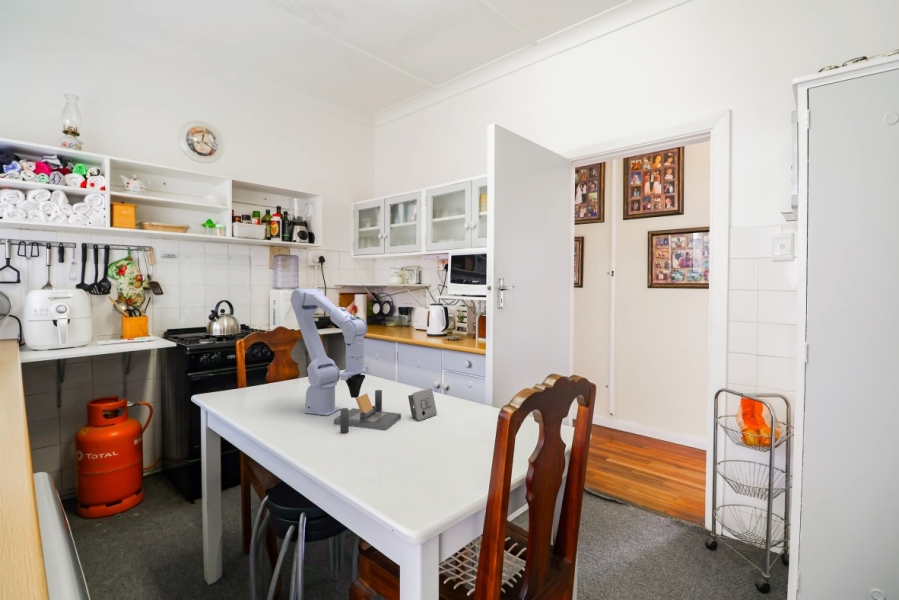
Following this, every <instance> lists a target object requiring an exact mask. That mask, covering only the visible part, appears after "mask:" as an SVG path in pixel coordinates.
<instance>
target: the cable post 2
mask: <svg viewBox="0 0 899 600" xmlns="http://www.w3.org/2000/svg"><path fill="white" fill-rule="evenodd" d="M374 406H376V411H382V410H383V390H382V389H375V391H374ZM382 412H383V411H382Z"/></svg>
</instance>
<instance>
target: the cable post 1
mask: <svg viewBox="0 0 899 600" xmlns="http://www.w3.org/2000/svg"><path fill="white" fill-rule="evenodd" d="M339 410H340V411H339V413H340V415H339V416H340V424H339V426H340V429H339V430H340V434H342V435H343V434H348V433H349V431H350V430H349V410H350V409H349V408H347V407H343V408H340V409H339Z"/></svg>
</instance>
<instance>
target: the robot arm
mask: <svg viewBox="0 0 899 600" xmlns="http://www.w3.org/2000/svg"><path fill="white" fill-rule="evenodd" d="M289 301H290V303H291V307H292V309H293V311H294V315H295V317H296V321H297V324H298V327H299V330H300V332H301V336H302V338H303V341H304V345H305V347H306V351H307V352H308V353H307V354H308V356H309V358H310V359H309V360H310V361H311V362H310V363H309V365H308V366H307V368H306V370H307V377H308V378H307V379H308V383H309V384H310V385H309V386H308V387H307V389H306V392H305V410H304V412H303V413H305V414H313V415H320V416H321V415H322V416H330V415H332V414H333V413H336V412H338V411H339V410H340V409H341V407H336V386H337V384H338V382H339V381H345V383H346V384H347V386H348V387H347V388H348V390H349V394H350V395H349V396H350V398H352V399H353V398H354V399H356V398H358V397H360V392H361V389H362V385H363V382H364V381H365V378H366V375H365V373H367V372H368V370H369V369H368V368H369V366H368V365H365V364H364V362H365V360H364V357H365V354H364V351H365V350H364V349H365V347H364V346H365V345H364V344H365V343H364V342H365V340H364V339H365V338H364V336H366V335H367V333H368V324H367V322H366V321H365V320H364V319H363V318H357V317H356V316H355V315H353V314H351V313H349V311H347V308H346V307H342V306H338V307H337V306H336V305H335V304H334V303H333V302H332V301H331V300H330V299H329V298H328V297H327V296H326V295H325V292H324V291H323V290H322V289H321V288H318V287H315V288H299V287H297V288H295V289H293V291H292V293H291V295H290V299H289ZM318 309H320V310H322V311H324V312H325V314H326V313H327V314H328V315H329V318H330V321H331V322H332V323H333V324H335V325H336V326H337V327H339V329H341V334H342V335H343V337H344V338H343V339H344V343H345V369H344V371H343V372H342V373H341V371H340V368H339V367H338V366H337V364H336V362H335V361H334V360H333V359H332V358H330V357H328V355H327V354H326V350H325V347H324V345H323V342H322V339H321V337H320V334H319V331H318V328H317V325H316V323H315V320H314V314H316V313H317V311H318Z"/></svg>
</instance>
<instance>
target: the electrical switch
mask: <svg viewBox="0 0 899 600" xmlns="http://www.w3.org/2000/svg"><path fill="white" fill-rule="evenodd" d="M407 399H408V402H409V403H408V404H409V408H410V412H411V414H410V415H411V419H413V420H414V419H416V420H417V422H420V421H423V420H426V419H428V418H431V417H434V416H436V415H437V414H438V412H437V406H436V401H435V397H434V391H433V388H431V387H428V388H425V389H422V390H421V389H420V390H418V391H414V392H412V394H410V395H408V397H407Z"/></svg>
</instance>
